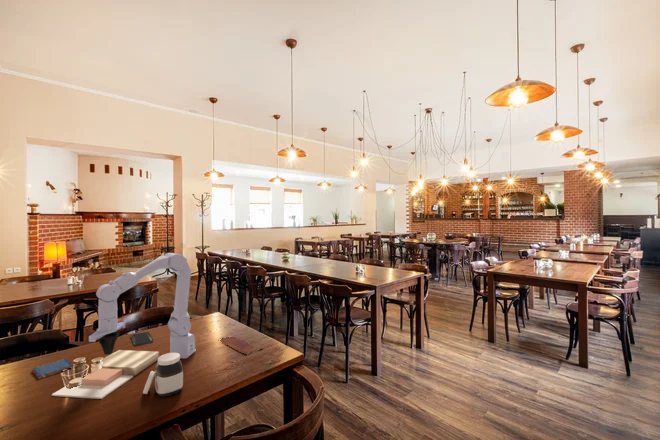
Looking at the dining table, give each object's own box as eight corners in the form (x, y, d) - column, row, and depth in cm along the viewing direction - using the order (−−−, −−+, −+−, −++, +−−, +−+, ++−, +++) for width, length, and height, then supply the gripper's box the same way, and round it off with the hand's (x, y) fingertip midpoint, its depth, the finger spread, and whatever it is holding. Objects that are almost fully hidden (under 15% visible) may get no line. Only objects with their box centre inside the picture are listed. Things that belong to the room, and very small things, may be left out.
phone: (148, 331, 159) (153, 340, 148) (148, 333, 159) (153, 342, 148) (130, 335, 154) (134, 344, 143) (130, 337, 154) (134, 347, 143)
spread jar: (186, 392, 105) (186, 358, 105) (148, 406, 97) (148, 369, 97) (174, 379, 114) (174, 347, 114) (138, 391, 106) (138, 357, 106)
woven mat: (30, 373, 119) (30, 367, 119) (65, 362, 128) (65, 357, 128) (37, 381, 113) (37, 375, 113) (74, 369, 122) (74, 364, 122)
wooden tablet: (265, 350, 140) (265, 346, 140) (245, 357, 133) (245, 353, 133) (233, 335, 158) (233, 331, 158) (215, 340, 151) (215, 337, 151)
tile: (122, 374, 116) (122, 369, 116) (104, 386, 108) (104, 380, 108) (100, 373, 117) (100, 368, 117) (81, 384, 109) (81, 379, 109)
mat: (132, 377, 115) (132, 375, 115) (101, 398, 101) (101, 397, 101) (88, 374, 117) (88, 373, 117) (51, 395, 103) (51, 394, 103)
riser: (159, 358, 130) (159, 351, 130) (134, 375, 116) (134, 367, 116) (119, 357, 132) (119, 350, 132) (90, 373, 118) (90, 365, 118)
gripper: (113, 310, 122) (113, 345, 123) (80, 323, 108) (80, 362, 108) (130, 311, 122) (130, 345, 122) (99, 324, 107) (99, 363, 107)
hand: (108, 353), depth 115 cm, fingers closed
